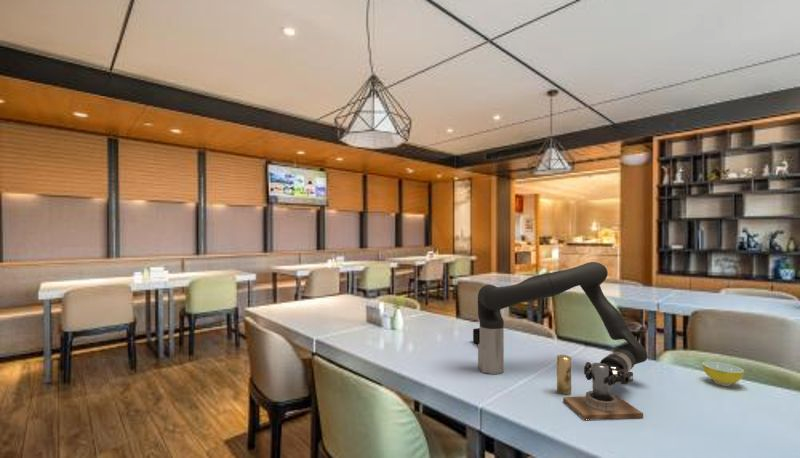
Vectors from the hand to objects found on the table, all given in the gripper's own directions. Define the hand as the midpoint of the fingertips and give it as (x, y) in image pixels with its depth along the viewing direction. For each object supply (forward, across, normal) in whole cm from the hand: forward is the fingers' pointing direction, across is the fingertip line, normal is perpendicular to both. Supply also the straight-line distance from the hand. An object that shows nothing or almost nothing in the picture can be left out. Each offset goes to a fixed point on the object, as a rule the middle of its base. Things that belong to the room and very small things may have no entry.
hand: (598, 379), depth 114 cm
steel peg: (-3, 0, +8) cm, 9 cm away
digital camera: (-33, -63, +10) cm, 72 cm away
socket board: (-3, 0, +10) cm, 10 cm away
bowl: (-56, +24, +10) cm, 61 cm away
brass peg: (-7, -13, +10) cm, 18 cm away
